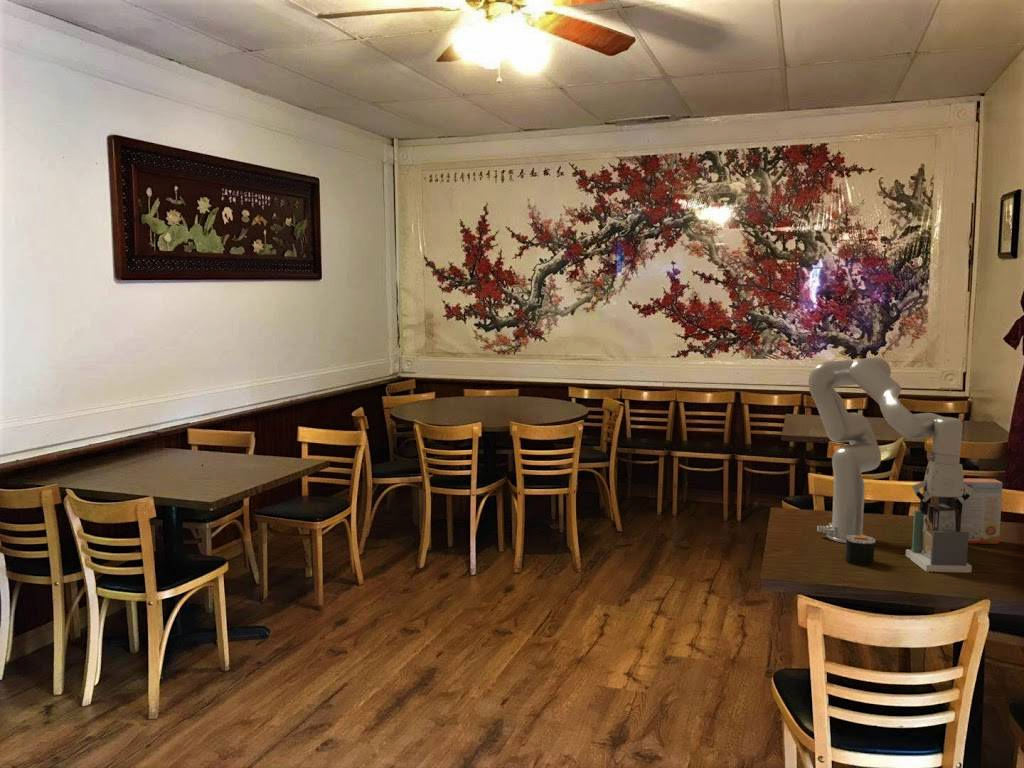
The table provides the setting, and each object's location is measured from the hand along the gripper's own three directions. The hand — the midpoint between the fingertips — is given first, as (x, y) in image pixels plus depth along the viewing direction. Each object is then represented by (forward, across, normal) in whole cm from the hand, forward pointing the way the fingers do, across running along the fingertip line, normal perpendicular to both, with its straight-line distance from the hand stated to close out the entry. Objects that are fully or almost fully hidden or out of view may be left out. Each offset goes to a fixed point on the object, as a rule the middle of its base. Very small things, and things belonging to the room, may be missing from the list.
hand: (940, 514), depth 254 cm
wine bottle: (+16, +12, +19) cm, 27 cm away
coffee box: (+14, 0, 0) cm, 14 cm away
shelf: (+16, +1, 0) cm, 16 cm away
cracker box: (+16, +23, +25) cm, 37 cm away
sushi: (+16, -22, +1) cm, 28 cm away
